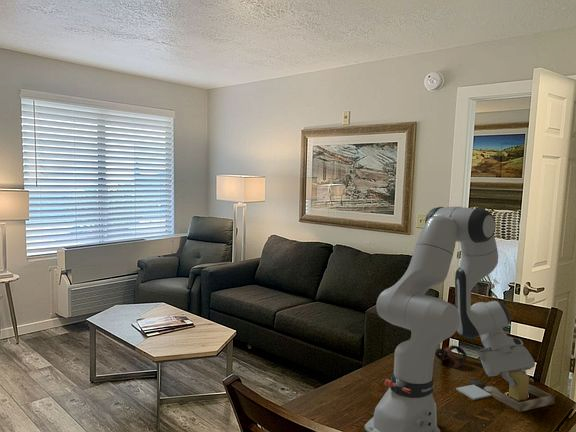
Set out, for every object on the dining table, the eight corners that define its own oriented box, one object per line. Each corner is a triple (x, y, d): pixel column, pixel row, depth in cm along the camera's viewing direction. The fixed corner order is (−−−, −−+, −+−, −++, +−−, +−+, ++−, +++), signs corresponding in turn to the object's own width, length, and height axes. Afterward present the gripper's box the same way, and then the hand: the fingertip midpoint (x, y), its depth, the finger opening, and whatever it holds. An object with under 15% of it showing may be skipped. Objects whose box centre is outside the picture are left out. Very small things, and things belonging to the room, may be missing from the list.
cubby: (519, 411, 140) (519, 404, 140) (491, 396, 150) (492, 389, 150) (554, 403, 146) (555, 396, 146) (525, 389, 157) (526, 382, 156)
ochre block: (518, 400, 148) (520, 377, 147) (508, 395, 151) (510, 372, 151) (527, 398, 149) (528, 375, 148) (517, 393, 153) (518, 371, 152)
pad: (473, 400, 148) (473, 398, 147) (455, 389, 155) (456, 387, 155) (491, 396, 151) (491, 394, 150) (473, 386, 158) (473, 384, 158)
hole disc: (480, 388, 156) (480, 387, 156) (466, 383, 160) (466, 382, 160) (486, 384, 160) (486, 383, 160) (473, 379, 163) (473, 379, 163)
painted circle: (496, 394, 152) (496, 394, 152) (481, 389, 155) (481, 388, 155) (502, 390, 155) (502, 389, 155) (487, 385, 159) (487, 384, 159)
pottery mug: (455, 359, 184) (465, 345, 180) (461, 377, 176) (471, 364, 172) (428, 351, 183) (437, 338, 179) (433, 370, 175) (442, 356, 171)
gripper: (481, 345, 151) (503, 385, 143) (524, 339, 159) (547, 376, 151) (470, 353, 156) (491, 392, 148) (513, 347, 164) (535, 384, 155)
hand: (520, 384), depth 149 cm, fingers closed on ochre block, 4 cm apart
